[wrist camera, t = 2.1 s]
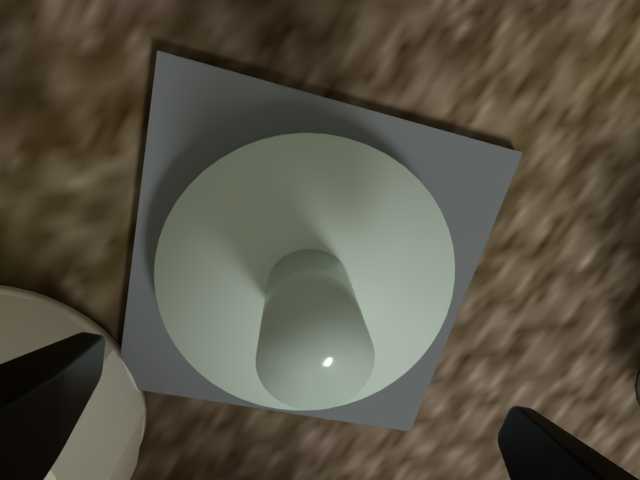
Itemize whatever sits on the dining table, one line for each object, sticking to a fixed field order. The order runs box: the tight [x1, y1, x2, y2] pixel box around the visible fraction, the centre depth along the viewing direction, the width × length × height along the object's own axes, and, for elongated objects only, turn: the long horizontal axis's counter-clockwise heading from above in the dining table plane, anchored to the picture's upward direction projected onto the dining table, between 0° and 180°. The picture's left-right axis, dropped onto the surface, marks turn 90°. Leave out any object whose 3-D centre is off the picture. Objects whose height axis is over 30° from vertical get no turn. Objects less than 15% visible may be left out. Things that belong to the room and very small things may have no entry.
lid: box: [154, 132, 455, 410], centre depth 11 cm, size 10×10×5 cm
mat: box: [120, 51, 522, 432], centre depth 14 cm, size 12×12×1 cm
